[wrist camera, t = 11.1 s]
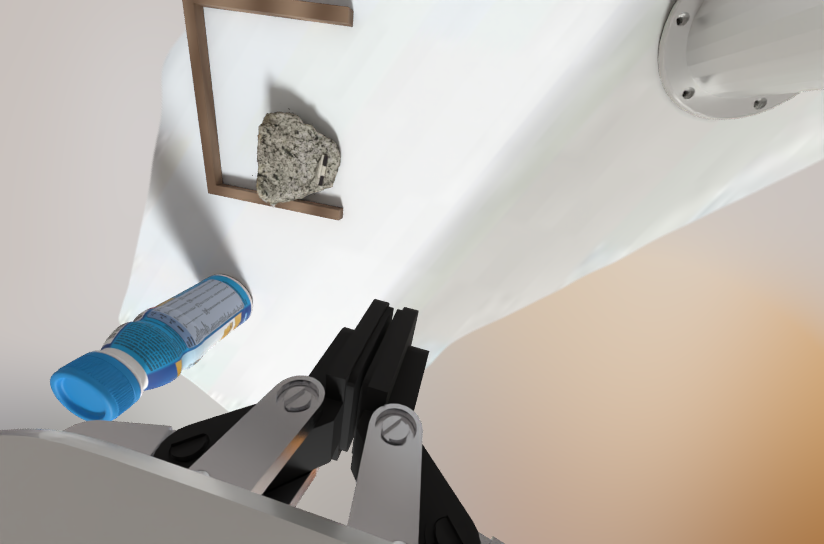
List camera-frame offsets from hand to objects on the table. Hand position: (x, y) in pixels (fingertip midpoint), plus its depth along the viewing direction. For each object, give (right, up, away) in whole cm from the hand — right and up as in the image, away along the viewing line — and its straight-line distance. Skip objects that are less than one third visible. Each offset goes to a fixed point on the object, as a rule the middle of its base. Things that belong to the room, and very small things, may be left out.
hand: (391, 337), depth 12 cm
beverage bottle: (-26, -1, +36) cm, 45 cm away
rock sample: (-11, +16, +25) cm, 32 cm away
